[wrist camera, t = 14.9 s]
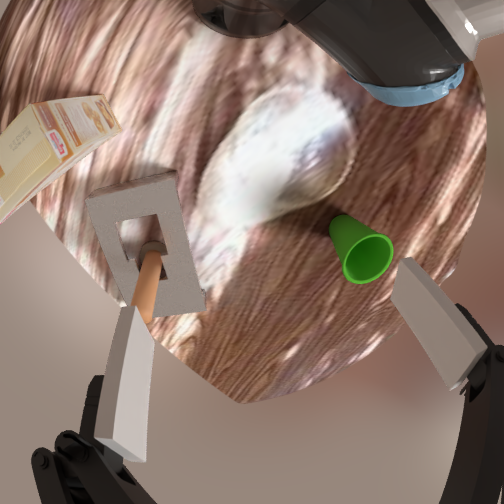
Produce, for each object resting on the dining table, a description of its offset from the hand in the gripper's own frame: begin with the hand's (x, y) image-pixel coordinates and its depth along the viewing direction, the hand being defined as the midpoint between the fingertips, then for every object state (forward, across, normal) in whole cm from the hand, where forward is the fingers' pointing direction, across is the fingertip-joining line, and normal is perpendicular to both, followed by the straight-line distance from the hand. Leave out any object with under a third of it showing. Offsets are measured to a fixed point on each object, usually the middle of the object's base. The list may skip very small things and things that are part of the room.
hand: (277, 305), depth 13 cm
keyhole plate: (+32, -15, -13) cm, 37 cm away
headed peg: (+32, -15, -14) cm, 38 cm away
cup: (+32, +18, -15) cm, 40 cm away
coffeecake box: (+32, -23, +8) cm, 40 cm away
